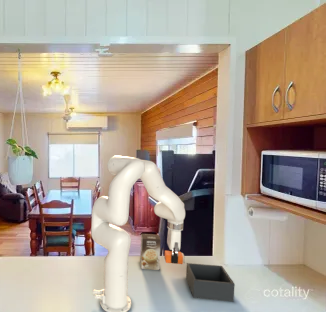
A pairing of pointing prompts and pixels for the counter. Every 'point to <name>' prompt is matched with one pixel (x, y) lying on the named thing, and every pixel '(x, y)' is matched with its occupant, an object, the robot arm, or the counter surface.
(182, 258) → the block
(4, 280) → the counter surface
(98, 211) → the robot arm
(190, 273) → the trash bin
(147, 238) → the coffee box
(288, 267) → the counter surface
